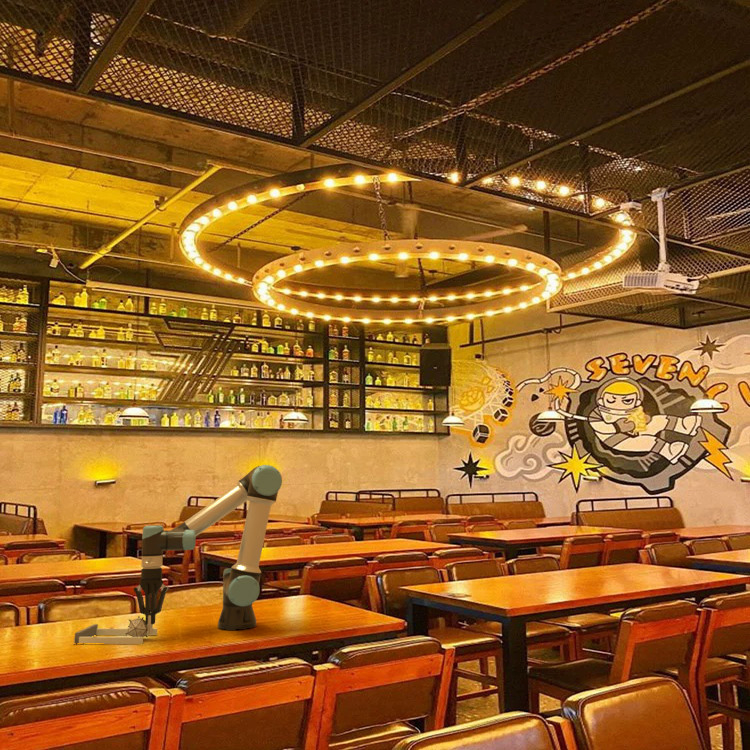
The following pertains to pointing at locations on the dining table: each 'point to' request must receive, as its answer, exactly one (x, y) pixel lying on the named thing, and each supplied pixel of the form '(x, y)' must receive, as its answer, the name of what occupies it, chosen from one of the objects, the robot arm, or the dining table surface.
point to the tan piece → (92, 630)
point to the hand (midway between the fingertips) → (150, 633)
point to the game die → (137, 627)
